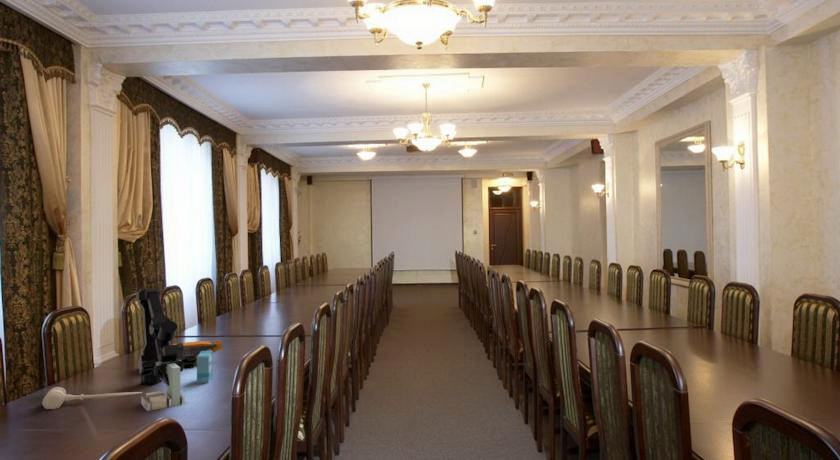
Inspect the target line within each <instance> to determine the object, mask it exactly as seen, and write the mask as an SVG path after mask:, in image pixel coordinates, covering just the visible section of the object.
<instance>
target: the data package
mask: <svg viewBox="0 0 840 460" xmlns="http://www.w3.org/2000/svg"><path fill="white" fill-rule="evenodd" d="M213 362H214V353H213V351H201V352H200V354H199V355H198V356H197V363H196V384H210V381H212V379H213V377H214V373H213V372H214V368H213V367H214V365H213Z"/></svg>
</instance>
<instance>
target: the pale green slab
mask: <svg viewBox="0 0 840 460" xmlns="http://www.w3.org/2000/svg"><path fill="white" fill-rule="evenodd" d="M166 373H167V376H168V379H169V386H167V385H166V394H167V395H168V396H169V397H170V398H171V399H172V405H177V404H180V393H181V372H180V367H179V366H178V365H176V364H175V363H171V364H167V371H166ZM177 406H178V405H177Z"/></svg>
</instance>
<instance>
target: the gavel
mask: <svg viewBox="0 0 840 460" xmlns="http://www.w3.org/2000/svg"><path fill="white" fill-rule="evenodd" d="M142 393H143V391H132V392H131V391H130V392H128V391H127V392H113V393H112V392H111V393H103V394H102V393H100V394H84V393H81V394H79V395H74V394H73V395H72V394H70V393H68V394H67V391H66V389H65V388H63V387H62V386H61V387H60V386H55V387H52V388H51V389H49V390H48V391H47V393H46V394H45V396H44V398H43V399H42V406H43V407H44V409H46V410H48V409H52V410H56V409H59V408H60V407H61V406H62V405H63V403H64V402H70V401H72V400H80V401H83V400H84V399H110V398H112V399H113V398H117V397H118V398H119V397H123V396H128V395H130V396H131V395H136V394H142Z"/></svg>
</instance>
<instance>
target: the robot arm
mask: <svg viewBox="0 0 840 460" xmlns="http://www.w3.org/2000/svg"><path fill="white" fill-rule="evenodd" d="M161 291H162V290H159V289H157V288H156V287H154V288H153V287H151V288H139V290H138V291H136V293H135V299H136V301H137V305H138V306H139V308H140V309H141V310H142V316H143V336H144V337H143V338H144V346H143V348H142V349H141V351H140V355H139V359H138V362H137V369H138V370H139V376H140V377H141V379H140V380H141V382H138V385H140V386H141V385H142V386H143V385H144V386H154V385H156V384H158V383H160V382H164V384H165V385H166V387H167V386H169V379H168V376H167V371H166V368H167V364H171V363H175V364H176V365H178V366H179V367H180V373H181V372H183V370H189V369H193V368H195V367H196V365H197V363H196V361H197V357H196V355H194V354H193V355H185V356H184V359H183V360H176V358H178V354H179V352H183V350H184V346H183V343H184V342H177V343H176V344H177V345H173V344H174V342H173V340H174V339H175V336H176V333H177V330H178V324H177V323H176V322H175V321H173V320H171V318H170V317H169V316H167V315H166V314H165V311H164V309H163V304H162V301H161V300H162V299H161V295H162V294H161Z"/></svg>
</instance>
